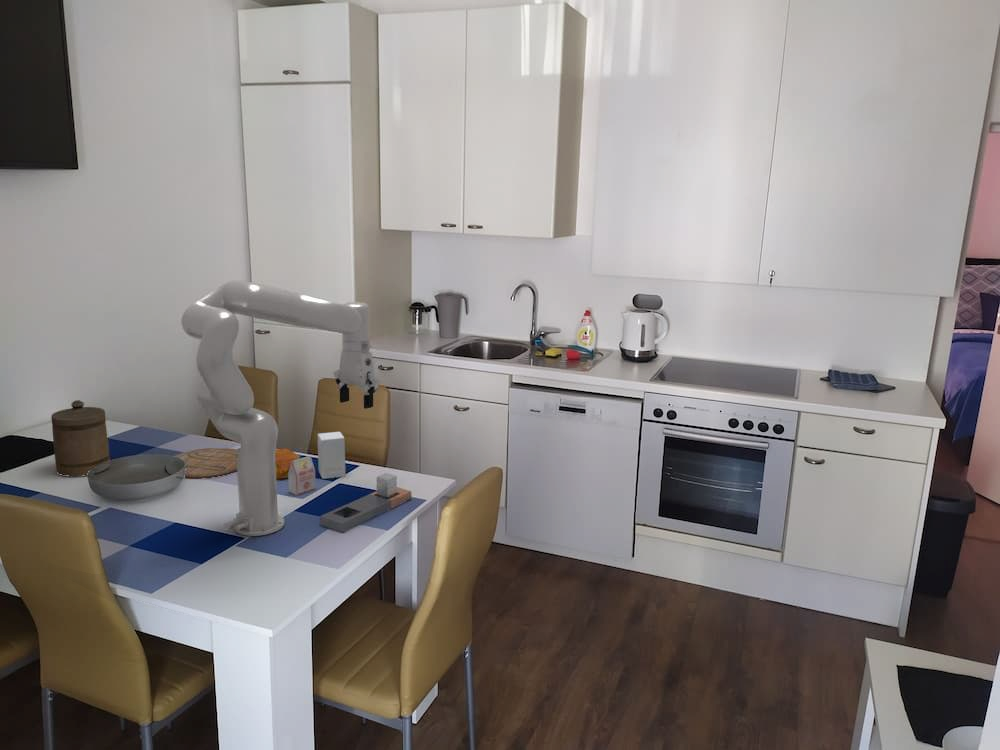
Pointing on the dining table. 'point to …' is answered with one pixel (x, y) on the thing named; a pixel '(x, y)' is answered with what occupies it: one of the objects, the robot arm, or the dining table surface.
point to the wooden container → (79, 439)
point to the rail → (361, 510)
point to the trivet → (209, 462)
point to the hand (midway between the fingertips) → (356, 404)
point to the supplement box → (331, 455)
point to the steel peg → (386, 486)
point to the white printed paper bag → (301, 476)
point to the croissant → (284, 462)
